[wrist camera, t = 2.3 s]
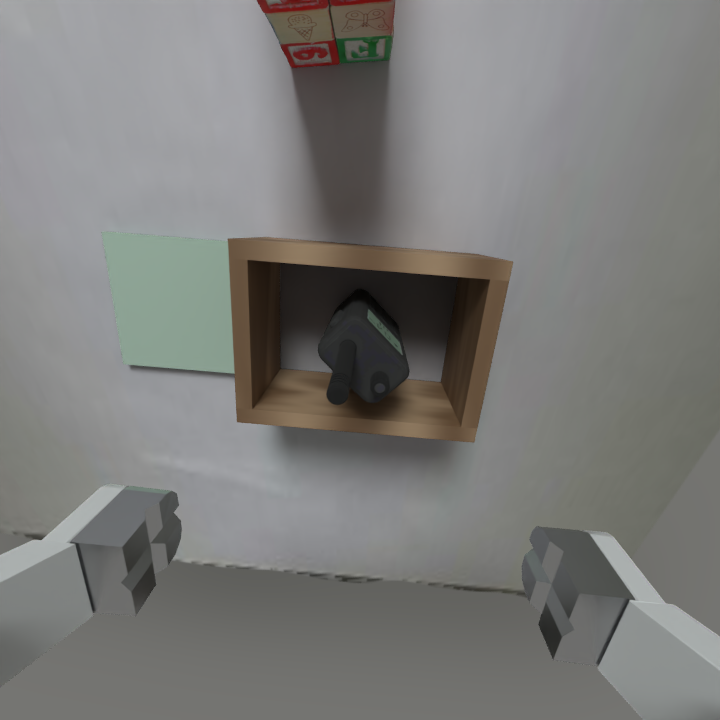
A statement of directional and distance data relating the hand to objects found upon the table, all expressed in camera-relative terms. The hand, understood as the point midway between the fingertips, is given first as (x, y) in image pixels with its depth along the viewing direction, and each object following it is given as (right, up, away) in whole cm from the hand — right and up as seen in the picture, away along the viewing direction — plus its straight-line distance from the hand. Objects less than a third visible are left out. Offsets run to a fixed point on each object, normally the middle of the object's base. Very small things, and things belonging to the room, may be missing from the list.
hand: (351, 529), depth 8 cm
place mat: (-13, +8, +19) cm, 25 cm away
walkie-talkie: (+1, +7, +19) cm, 20 cm away
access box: (+1, +7, +19) cm, 20 cm away
